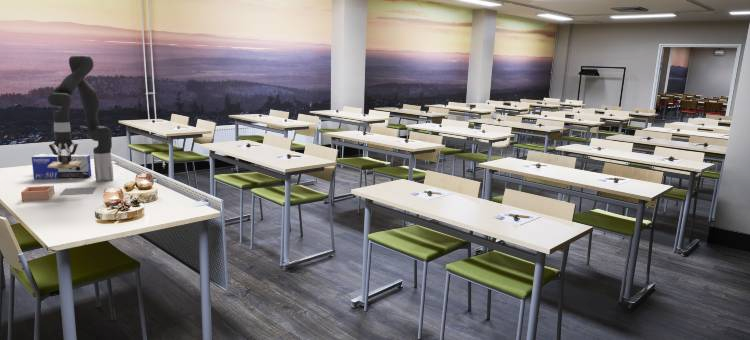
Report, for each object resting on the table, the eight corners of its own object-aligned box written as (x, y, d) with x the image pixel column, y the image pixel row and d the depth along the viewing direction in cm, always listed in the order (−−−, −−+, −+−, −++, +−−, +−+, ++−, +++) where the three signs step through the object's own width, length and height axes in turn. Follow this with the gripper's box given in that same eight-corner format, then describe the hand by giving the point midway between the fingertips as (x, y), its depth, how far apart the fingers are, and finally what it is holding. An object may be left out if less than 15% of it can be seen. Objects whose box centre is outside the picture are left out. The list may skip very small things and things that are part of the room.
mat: (97, 187, 289) (97, 186, 289) (92, 194, 274) (92, 193, 274) (65, 189, 284) (65, 188, 283) (59, 196, 269) (58, 195, 269)
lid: (82, 163, 281) (81, 153, 279) (77, 168, 268) (77, 157, 267) (53, 164, 276) (52, 153, 274) (47, 169, 263) (46, 158, 262)
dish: (54, 194, 272) (53, 185, 271) (49, 200, 261) (48, 191, 260) (28, 195, 268) (27, 186, 267) (22, 201, 257) (20, 192, 256)
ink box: (33, 179, 304) (30, 156, 301) (37, 177, 310) (35, 154, 307) (89, 178, 312) (87, 155, 309) (91, 176, 318) (90, 154, 315)
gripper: (78, 129, 274) (81, 160, 277) (48, 129, 269) (51, 161, 272) (76, 131, 267) (78, 163, 270) (45, 131, 262) (48, 164, 265)
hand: (65, 162), depth 271 cm, fingers closed on lid, 3 cm apart
